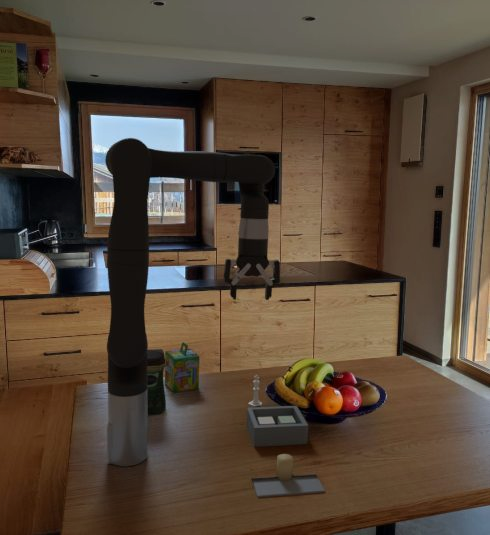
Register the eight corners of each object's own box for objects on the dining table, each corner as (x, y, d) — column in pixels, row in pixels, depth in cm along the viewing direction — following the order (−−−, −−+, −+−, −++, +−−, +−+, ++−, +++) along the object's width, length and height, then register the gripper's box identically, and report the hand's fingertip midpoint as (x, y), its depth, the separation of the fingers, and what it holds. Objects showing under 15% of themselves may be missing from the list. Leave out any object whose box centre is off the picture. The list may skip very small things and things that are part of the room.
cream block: (259, 438, 129) (260, 424, 129) (256, 431, 133) (257, 417, 133) (274, 437, 130) (275, 423, 129) (271, 430, 134) (272, 416, 133)
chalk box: (164, 383, 168) (164, 341, 165) (189, 379, 172) (189, 338, 170) (173, 393, 159) (173, 349, 157) (199, 389, 164) (200, 345, 162)
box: (253, 450, 125) (254, 427, 124) (246, 428, 137) (247, 407, 136) (307, 447, 127) (308, 425, 126) (295, 425, 139) (296, 405, 138)
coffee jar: (165, 404, 151) (165, 345, 149) (166, 415, 144) (166, 353, 141) (132, 405, 149) (132, 346, 147) (132, 417, 142) (131, 355, 139)
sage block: (280, 437, 130) (281, 423, 130) (277, 430, 134) (277, 416, 134) (295, 436, 131) (295, 422, 130) (291, 429, 135) (292, 415, 134)
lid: (257, 500, 106) (258, 476, 105) (247, 467, 118) (247, 445, 118) (324, 494, 108) (325, 471, 107) (307, 463, 121) (308, 442, 120)
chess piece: (257, 411, 148) (258, 379, 147) (244, 406, 151) (245, 375, 150) (266, 406, 152) (267, 374, 150) (253, 401, 155) (254, 371, 153)
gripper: (227, 236, 120) (224, 302, 123) (284, 238, 123) (280, 302, 125) (223, 234, 128) (221, 296, 130) (277, 236, 130) (274, 296, 132)
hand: (250, 299), depth 127 cm, fingers open, 8 cm apart
